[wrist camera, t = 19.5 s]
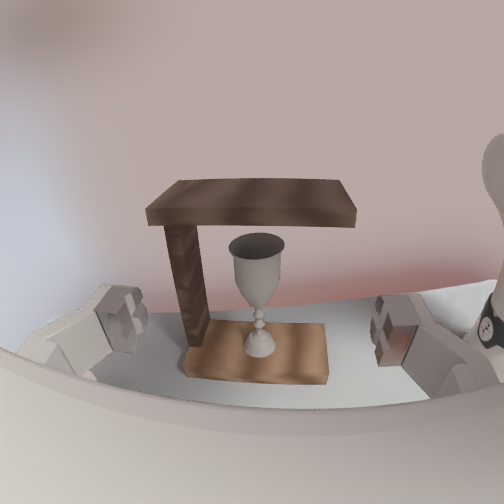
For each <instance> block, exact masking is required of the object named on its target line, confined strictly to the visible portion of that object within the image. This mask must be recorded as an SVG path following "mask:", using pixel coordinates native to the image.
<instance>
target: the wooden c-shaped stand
mask: <svg viewBox="0 0 504 504" xmlns="http://www.w3.org/2000/svg"><path fill="white" fill-rule="evenodd" d="M356 213H357V209H356V207H355V205H354V204H353V202H352V200H351V199H350V197H349V195H348V194H347V192H346V191H345V189H344V187H343V185H342V184H341V182H340V181H339V180H326V179H287V178H286V179H284V178H280V179H279V178H246V179H245V178H243V179H242V178H240V179H202V180H179V181H177V182H176V183H175V184H173V185H172V186H171V187H170V188H169V189H167V190H166V191H165V192H164V193H163V194H162V195H161V196H159V197H158V198H157V199H156V200H155V201H154V202H153V203H151V204H150V205H149V206H148V207H147V208H146V215H147V221H148V225H149V226H164V231H165V236H166V242H167V247H168V253H169V258H170V263H171V268H172V273H173V278H174V283H175V288H176V292H177V297H178V302H179V306H180V310H181V315H182V319H183V323H184V328H185V332H186V336H187V340H188V344H189V349H188V351H187V354H186V357H185V360H184V363H183V367H184V370H185V374H186V376H188V377H196V378H204V379H213V380H224V381H235V382H249V383H267V384H305V385H317V384H326V383H327V379H328V375H329V366H328V356H327V346H326V336H325V327H324V324H314V323H269V322H265V325H264V326H263V328H262V330H265V331H266V332H268V333H269V334H270V335H271V337H272V338H273V340H274V342H275V344H276V346H275V350H274V352H273V353H271V354H270V355H268V356H266V357H261V358H258V357H253V356H250V355H249V354H247V353H246V351H245V350H244V343H245V342H246V339H247V338H248V336H249V334H250V333H251V332H253V331H255V330H256V327H254V326H253V323H254V322H245V321H226V320H211V319H210V316H209V310H208V303H207V297H206V291H205V284H204V277H203V270H202V263H201V255H200V248H199V240H198V232H197V225H242V226H243V225H244V226H245V225H246V226H248V225H249V226H252V225H253V226H307V227H308V226H309V227H346V228H355V222H356Z"/></svg>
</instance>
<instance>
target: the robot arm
mask: <svg viewBox="0 0 504 504" xmlns="http://www.w3.org/2000/svg"><path fill="white" fill-rule="evenodd" d="M482 175H483V181H484V184H485V188H486V190H487V192H488V194H489V196H490V197H491V199H492V200H493V202H494V204H495V205H496V207H497V209H498V211H499V214H500V216H501V219H502V222H503V226H504V134H498V135H497V136H495V137H494V138H493V139H492V140H491V141H490V143H489V144H488V146H487V148H486V150H485V152H484V156H483V160H482ZM142 298H143V296H142V293H141V290H140V289H139V288H138V287H130V286H121V285H111V284H103V285H101V286H100V287H99V288H98V289H97V291H96V292H95V293H94V294H93V295H92V297H91V298H90V299H89V300H88V301H87V303H86V304H85V305H84V306H83V308H82V309H77V310H75V311H73V312H71V313H69V314H67V315H65V316H64V317H62V318H60V319H58V320H56V321H54V322H52V323H50V324H48V325H46V326H44V327H43V328H41V329H39V330H37V331H35V332H33V333H31V334H30V335H29V336H28V338H27V339H26V340H25V342H24V343H23V344H22V346H21V347H20V348H19V349H18V351H17V352H16V353H12V352H10V351H8V350H5V349H3V348H1V347H0V504H504V261H503V265H502V269H501V272H500V275H499V279H498V281H497V284H496V287H495V289H494V292H492V293H491V294H490V296H489V298H488V300H487V301H486V303H485V306H484V309H483V311H482V313H481V314H480V316H479V317H478V319H477V321H476V322H475V324H474V326H473V327H472V329H471V330H470V332H469V333H468V334H465V336H464V337H463V339H461V338H459V337H458V336H456V335H455V334H454V333H452V332H451V331H449V330H448V329H446V328H445V327H443V326H442V325H441V324H436V323H435V321H434V319H433V317H432V315H431V313H430V311H429V309H428V307H427V305H426V303H425V302H424V300H423V298H422V296H421V295H420V294H406V295H383V296H378V298H377V301H376V305H375V306H376V309H377V312H376V313H375V314H374V315H373V316H372V320H371V328H370V333H371V339H372V343H374V344H375V345H376V346H377V347H376V350H375V355H376V359H377V363H378V367H386V366H401V367H402V368H403V369H404V370H405V371H406V372H407V374H408V375H409V376H410V377H411V378H412V379H413V380H414V381H415V382H416V383H417V384H418V385H419V386H420V387H421V389H422V390H423V391H424V392H425V393H426V394H427V395H428V396H429V397H430V398H431V399H428V400H422V401H415V402H408V403H400V404H391V405H381V406H370V407H356V408H335V409H278V408H258V407H243V406H232V405H222V404H213V403H204V402H197V401H190V400H183V399H177V398H171V397H165V396H159V395H154V394H149V393H144V392H139V391H134V390H130V389H125V388H121V387H117V386H113V385H109V384H105V383H101V382H98V381H94V380H90V379H87V378H83V377H81V376H82V375H83V374H85V373H86V372H87V371H88V370H90V369H91V368H92V367H93V366H95V365H96V364H97V363H99V362H100V361H101V360H102V359H104V358H105V357H106V356H107V355H109V354H110V353H111V352H113V351H112V350H114V351H121V352H127V353H133V351H134V349H135V348H136V346H137V344H138V342H139V338H138V335H139V334H141V333H143V332H144V330H145V328H146V326H147V321H148V313H147V310H146V307H145V306H144V305H143V304H142V302H141V300H142Z"/></svg>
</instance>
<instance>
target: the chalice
mask: <svg viewBox="0 0 504 504" xmlns="http://www.w3.org/2000/svg"><path fill="white" fill-rule="evenodd" d="M283 249H284V241H283V240H282V239H281V238H280V237H278V236H276V235H273V234H268V233H251V234H246V235H243V236H240V237H238V238H236V239H234V240H233V241H232V242H231V243H230V245H229V251H230V253H231V254H232V256H233V257H234V270H235V281H236V284H237V286H238V288H239V290H240V292H241V294H242V295H243V296H244V298H245V299H246V301H247V302H248V303H249V304H250V306H252V307H255V308H256V309H255V312H254V314H253V316H254V317H255V318H256V321H255V322H254V323H253V326H254V327H256V330H255V331H253V332H251V333H250V334H249V336H248V338H247V339H246V342H245V343H244V350H245V351H246V353H247V354H249V355H250V356H253V357H258V358H261V357H266V356H268V355H270V354H271V353H273V352H274V350H275V346H276V344H275V342H274V340H273V338H272V337H271V335H270V334H269V333H268V332H266V331H265V330H262V328H263V326H264V325H265V322H264V321H263V320H262V317H263V316H264V312H263V311H262V307H263V306H265V305H267V303H268V302H269V300H270V298H271V297H272V295H273V293H274V292H275V290H276V288H277V285H278V283H279V280H280V254H281V252H282V250H283Z"/></svg>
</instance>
